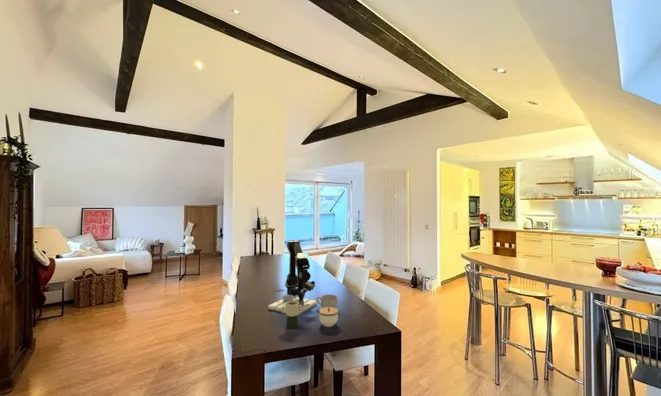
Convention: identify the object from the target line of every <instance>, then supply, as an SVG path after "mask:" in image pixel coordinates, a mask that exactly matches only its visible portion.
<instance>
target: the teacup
mask: <svg viewBox="0 0 661 396" xmlns="http://www.w3.org/2000/svg"><path fill="white" fill-rule="evenodd" d="M319 299H320V300H319ZM338 299H339V297H338V296H337V295H335V294H331V293H330V294H328V293H327V294H324V295H321V296H320V295H319V296H317V297H316V299H315V301H317V304H319V305H320V307H321V308H325V307H332V308H336V309H338V304H339V300H338Z"/></svg>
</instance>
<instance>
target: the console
mask: <svg viewBox="0 0 661 396" xmlns="http://www.w3.org/2000/svg"><path fill="white" fill-rule="evenodd" d="M296 299H299V297H298V296H293V300H291V301H294V300H296ZM299 300H300V299H299ZM303 300H304V305H303V306H302V311H299V313H298V315H296V316H297V317H299V316H300V315H301V314H304V313H305V312H307V311H308V310H310V309H312V308H314V307H315V306H317V305H318V302H317V301H316V299H315V300H313V299H308V298H304V299H303ZM286 302H287V301H284V300H283V298H282V299H280V300H277V301H275V302H273V303H270V304H269V305H268V310H269V311H272V312H273V311H274V312H277V313H282V307H285V306H286ZM299 310H300V307H299ZM284 311H286V308H284Z"/></svg>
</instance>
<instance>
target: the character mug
mask: <svg viewBox="0 0 661 396" xmlns="http://www.w3.org/2000/svg"><path fill="white" fill-rule="evenodd" d="M299 307H300V310H299ZM284 308H286V311H284ZM299 311H302V305H299V302H298V301H287V302H286V306H285V307H282V312H281V313H282V314H285V315H286V316H287V317H286V327H287V328H289V329H294V328H296V327H298V325H299V323H298V316H299V315H298V313H299ZM296 315H298V316H296Z"/></svg>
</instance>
